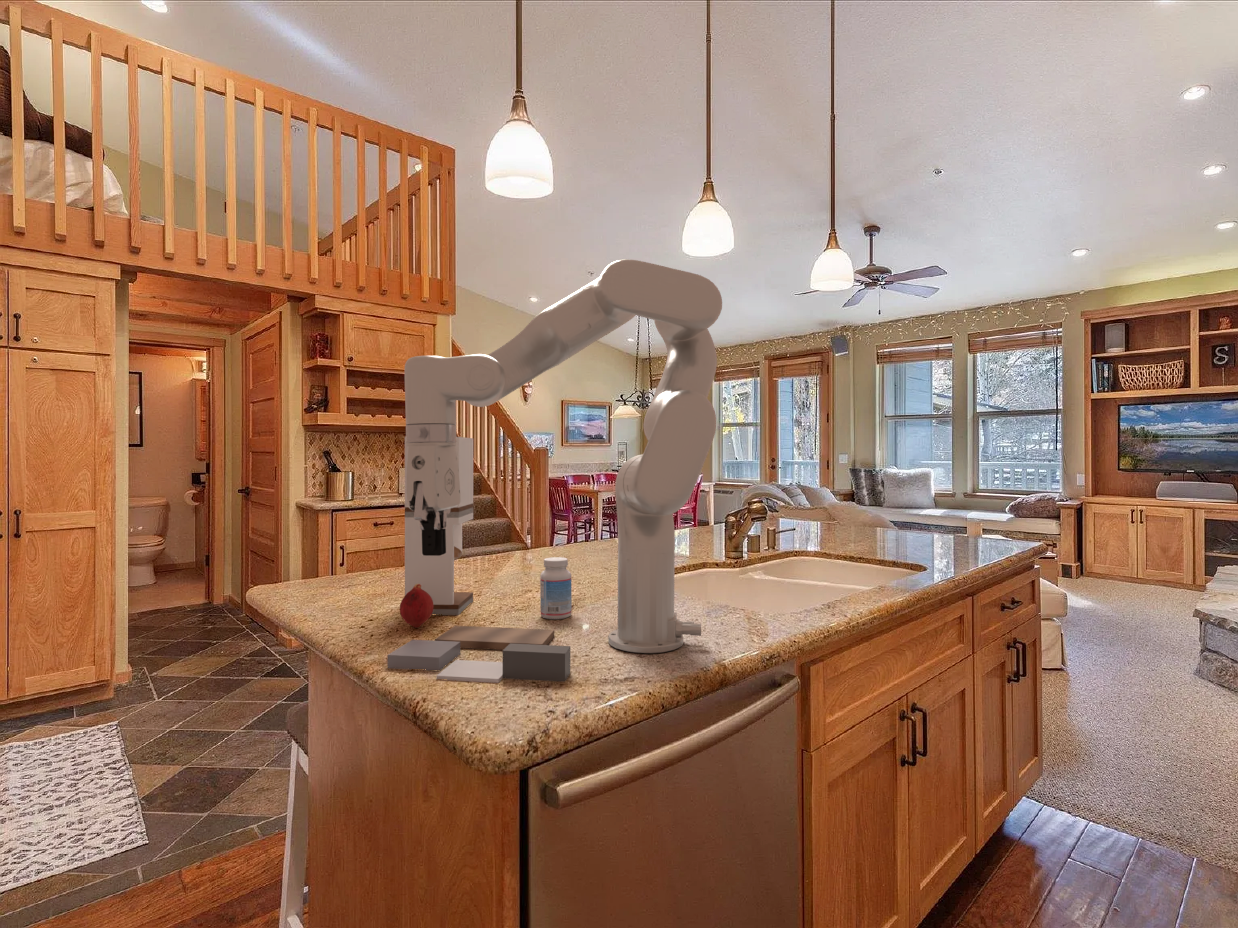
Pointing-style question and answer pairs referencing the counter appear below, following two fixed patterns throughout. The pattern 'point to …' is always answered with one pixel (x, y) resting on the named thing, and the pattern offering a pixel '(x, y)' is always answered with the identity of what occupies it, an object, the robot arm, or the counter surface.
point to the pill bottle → (555, 589)
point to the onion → (416, 606)
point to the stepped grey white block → (515, 665)
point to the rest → (495, 636)
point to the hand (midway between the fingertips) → (434, 554)
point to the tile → (424, 655)
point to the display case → (440, 569)
